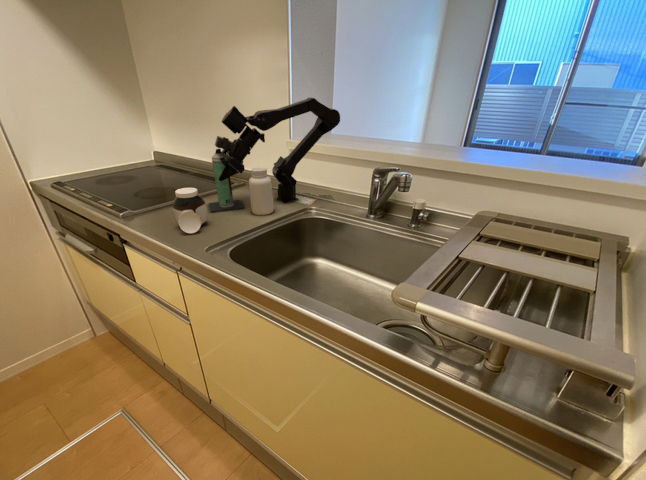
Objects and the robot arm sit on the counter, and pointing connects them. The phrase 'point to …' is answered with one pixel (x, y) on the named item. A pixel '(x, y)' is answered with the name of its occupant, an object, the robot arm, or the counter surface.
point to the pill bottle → (261, 192)
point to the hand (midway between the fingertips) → (218, 178)
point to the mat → (216, 207)
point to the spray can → (222, 186)
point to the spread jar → (189, 210)
